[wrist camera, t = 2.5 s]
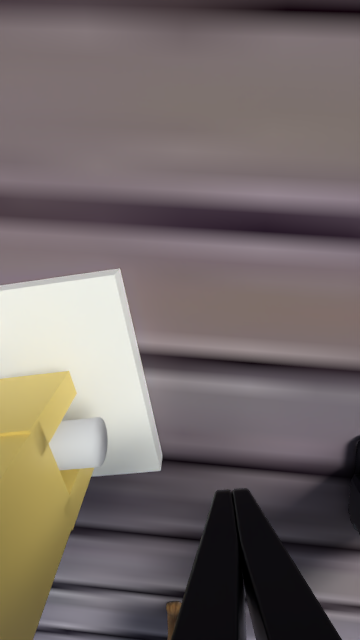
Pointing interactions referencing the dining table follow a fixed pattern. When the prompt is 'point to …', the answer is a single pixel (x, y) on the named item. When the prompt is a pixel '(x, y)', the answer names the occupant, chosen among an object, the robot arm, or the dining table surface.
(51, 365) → the cord rail
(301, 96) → the dining table surface
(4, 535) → the yellow pegged block
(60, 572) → the dining table surface
